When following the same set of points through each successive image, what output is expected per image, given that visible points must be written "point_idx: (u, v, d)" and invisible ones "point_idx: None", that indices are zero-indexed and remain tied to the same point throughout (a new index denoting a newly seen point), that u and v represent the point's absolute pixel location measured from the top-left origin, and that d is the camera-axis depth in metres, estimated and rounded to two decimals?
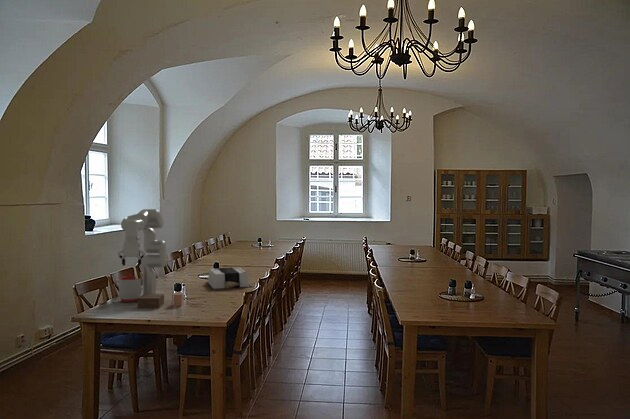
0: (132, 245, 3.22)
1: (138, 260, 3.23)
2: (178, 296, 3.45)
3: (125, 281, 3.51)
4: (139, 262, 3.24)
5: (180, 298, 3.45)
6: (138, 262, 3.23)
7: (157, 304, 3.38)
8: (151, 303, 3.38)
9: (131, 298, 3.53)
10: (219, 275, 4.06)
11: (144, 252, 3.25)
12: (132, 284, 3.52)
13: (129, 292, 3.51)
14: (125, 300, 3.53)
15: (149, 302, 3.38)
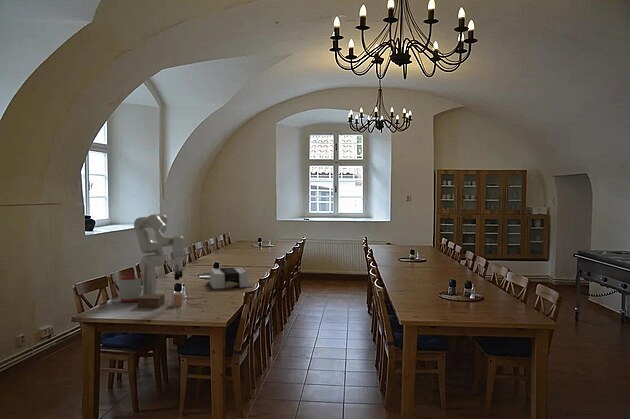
0: (182, 259, 3.48)
1: None
2: (178, 296, 3.45)
3: (125, 281, 3.51)
4: None
5: (180, 298, 3.45)
6: None
7: (156, 304, 3.38)
8: (150, 303, 3.38)
9: (131, 298, 3.53)
10: (219, 275, 4.06)
11: None
12: (132, 284, 3.52)
13: (129, 292, 3.52)
14: (125, 300, 3.53)
15: (148, 302, 3.38)
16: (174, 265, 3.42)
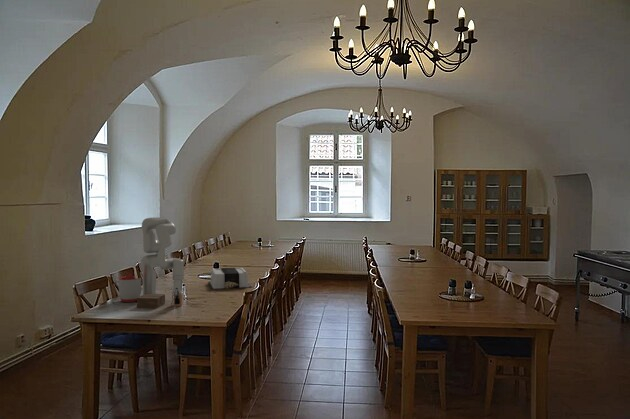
0: (182, 282, 3.49)
1: None
2: None
3: (125, 281, 3.51)
4: None
5: (180, 298, 3.45)
6: None
7: (155, 304, 3.38)
8: (150, 303, 3.38)
9: (131, 298, 3.53)
10: (219, 275, 4.06)
11: None
12: (132, 284, 3.52)
13: (129, 292, 3.51)
14: (125, 300, 3.53)
15: (147, 302, 3.38)
16: (174, 288, 3.43)
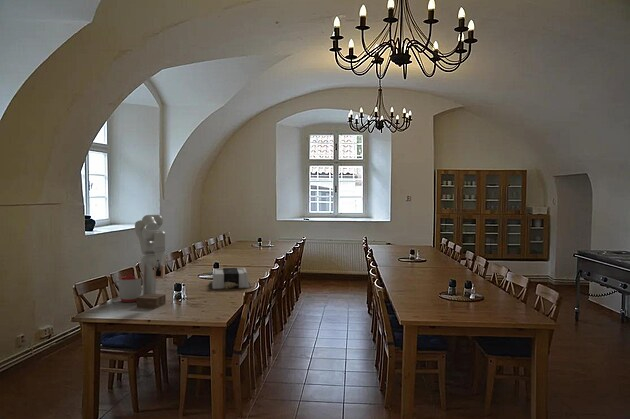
0: (163, 254, 3.46)
1: None
2: None
3: (125, 281, 3.51)
4: None
5: (161, 270, 3.42)
6: None
7: (154, 304, 3.37)
8: (148, 303, 3.38)
9: (131, 298, 3.53)
10: (218, 275, 4.05)
11: None
12: (132, 284, 3.52)
13: (129, 292, 3.52)
14: (125, 300, 3.53)
15: (146, 302, 3.38)
16: (155, 260, 3.40)
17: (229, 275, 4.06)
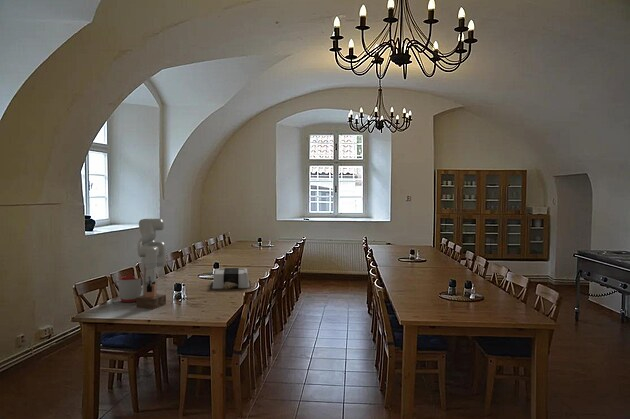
0: (155, 270, 3.45)
1: None
2: None
3: (125, 281, 3.51)
4: None
5: (153, 289, 3.42)
6: None
7: (152, 305, 3.37)
8: (147, 303, 3.38)
9: (131, 298, 3.53)
10: (218, 275, 4.05)
11: None
12: (132, 284, 3.52)
13: (129, 292, 3.51)
14: (125, 300, 3.53)
15: (145, 302, 3.38)
16: (146, 277, 3.39)
17: (229, 275, 4.05)
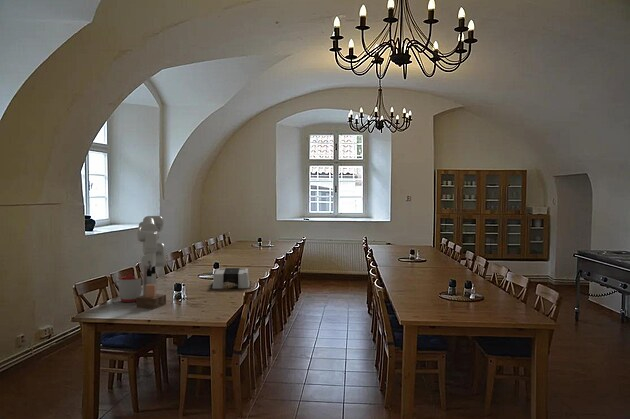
0: (155, 255, 3.45)
1: None
2: (151, 287, 3.42)
3: (125, 281, 3.51)
4: None
5: (153, 289, 3.42)
6: None
7: (153, 305, 3.37)
8: (148, 303, 3.38)
9: (131, 298, 3.53)
10: (218, 275, 4.05)
11: None
12: (132, 284, 3.52)
13: (129, 292, 3.52)
14: (125, 300, 3.53)
15: (145, 302, 3.38)
16: (146, 261, 3.39)
17: (228, 275, 4.05)
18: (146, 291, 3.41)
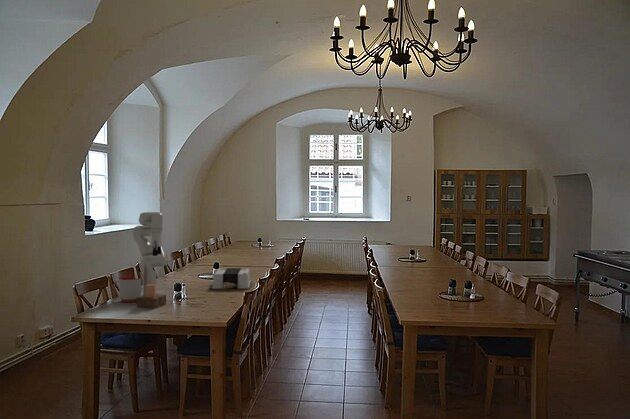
0: (160, 235, 3.53)
1: (160, 249, 3.56)
2: (151, 287, 3.42)
3: (126, 281, 3.51)
4: None
5: (153, 289, 3.42)
6: (160, 250, 3.56)
7: (153, 305, 3.37)
8: (148, 303, 3.38)
9: (131, 298, 3.53)
10: (218, 275, 4.05)
11: None
12: (132, 284, 3.52)
13: (130, 292, 3.52)
14: (125, 300, 3.53)
15: (146, 302, 3.38)
16: (152, 241, 3.46)
17: (228, 275, 4.04)
18: (146, 291, 3.41)
